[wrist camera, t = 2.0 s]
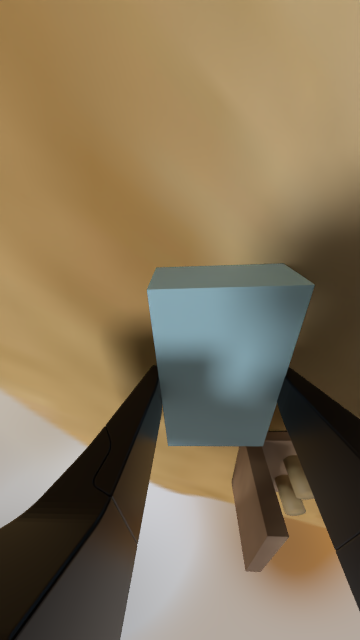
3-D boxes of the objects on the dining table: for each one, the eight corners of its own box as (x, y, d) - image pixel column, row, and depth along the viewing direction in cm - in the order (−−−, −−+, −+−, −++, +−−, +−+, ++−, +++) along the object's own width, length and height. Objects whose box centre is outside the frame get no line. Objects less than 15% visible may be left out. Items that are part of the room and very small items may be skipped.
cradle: (451, 432, 13) (577, 545, 9) (389, 485, 17) (456, 578, 13) (242, 431, 14) (267, 536, 10) (231, 482, 18) (245, 571, 14)
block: (156, 266, 8) (147, 289, 6) (282, 262, 8) (314, 285, 6) (171, 406, 13) (168, 445, 11) (250, 406, 13) (262, 446, 11)
